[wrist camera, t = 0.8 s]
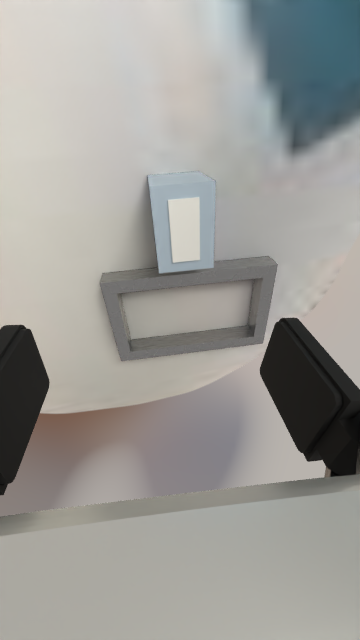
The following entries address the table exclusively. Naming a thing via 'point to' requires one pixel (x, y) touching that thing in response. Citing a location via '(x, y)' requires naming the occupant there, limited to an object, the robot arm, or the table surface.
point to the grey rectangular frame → (222, 272)
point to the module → (183, 220)
